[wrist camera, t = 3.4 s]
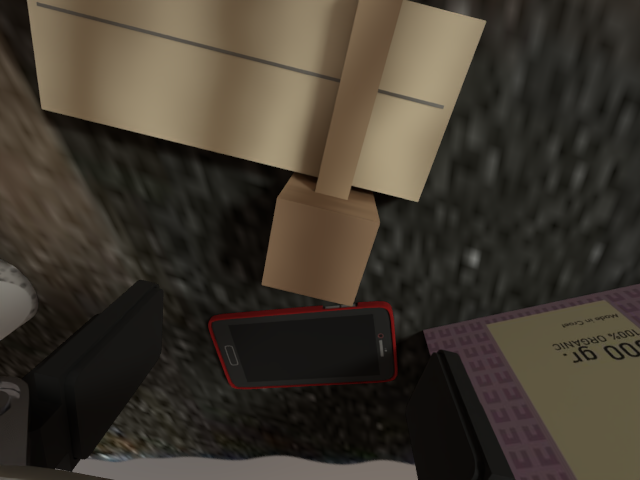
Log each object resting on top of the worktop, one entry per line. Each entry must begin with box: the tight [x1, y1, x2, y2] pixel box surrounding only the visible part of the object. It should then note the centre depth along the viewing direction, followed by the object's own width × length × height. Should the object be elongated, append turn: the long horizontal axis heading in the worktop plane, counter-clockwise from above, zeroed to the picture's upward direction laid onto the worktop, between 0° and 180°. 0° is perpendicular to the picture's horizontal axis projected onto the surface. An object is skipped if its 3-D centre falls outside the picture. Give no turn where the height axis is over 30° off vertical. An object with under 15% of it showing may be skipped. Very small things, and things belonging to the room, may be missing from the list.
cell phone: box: [208, 301, 398, 389], centre depth 27 cm, size 8×15×1 cm, turn 99°
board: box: [27, 0, 486, 202], centre depth 18 cm, size 22×9×2 cm, turn 77°
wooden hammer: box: [262, 0, 403, 306], centre depth 17 cm, size 5×15×6 cm, turn 167°
